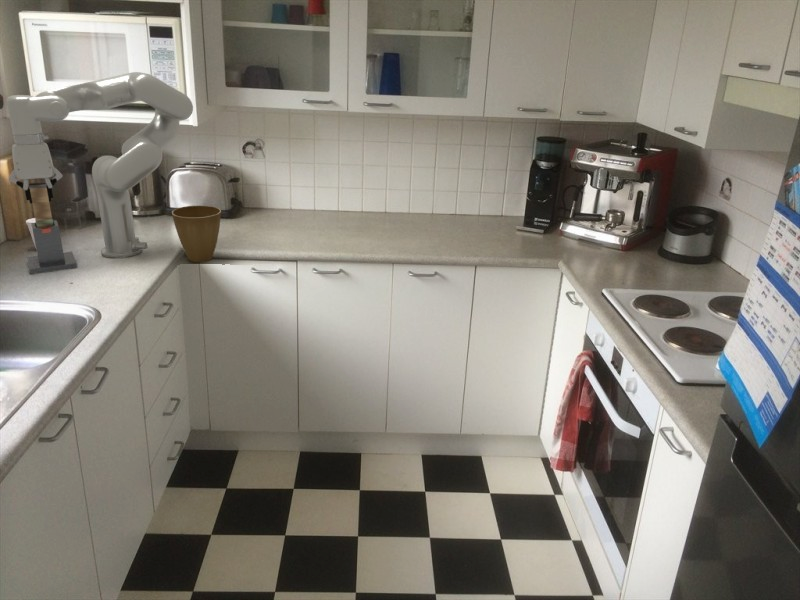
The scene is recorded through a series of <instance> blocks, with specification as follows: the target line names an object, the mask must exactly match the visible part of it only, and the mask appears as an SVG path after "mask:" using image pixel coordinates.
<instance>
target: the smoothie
mask: <svg viewBox="0 0 800 600" xmlns="http://www.w3.org/2000/svg"><path fill="white" fill-rule="evenodd" d="M35 222H36V220H35V217H33V218H28V219H27V220H25V224H26V226H27V227H28V230H29V232H30V235H31V239H32V242H33V244H34V247H35V248H34V249H36V245H35V240H34V235H33V229H32V224H31V223H35Z"/></svg>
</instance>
